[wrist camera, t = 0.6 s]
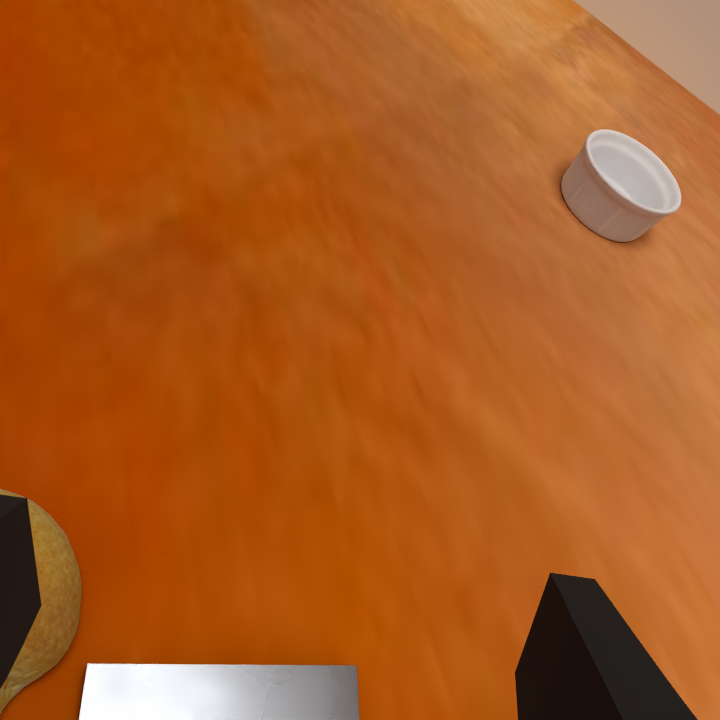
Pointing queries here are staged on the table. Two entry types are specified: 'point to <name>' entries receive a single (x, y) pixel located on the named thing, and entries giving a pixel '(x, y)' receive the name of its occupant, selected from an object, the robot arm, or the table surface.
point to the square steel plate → (219, 692)
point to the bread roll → (47, 603)
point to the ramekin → (619, 187)
